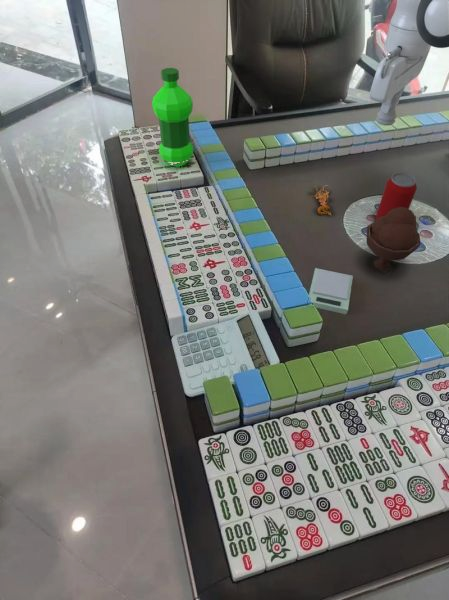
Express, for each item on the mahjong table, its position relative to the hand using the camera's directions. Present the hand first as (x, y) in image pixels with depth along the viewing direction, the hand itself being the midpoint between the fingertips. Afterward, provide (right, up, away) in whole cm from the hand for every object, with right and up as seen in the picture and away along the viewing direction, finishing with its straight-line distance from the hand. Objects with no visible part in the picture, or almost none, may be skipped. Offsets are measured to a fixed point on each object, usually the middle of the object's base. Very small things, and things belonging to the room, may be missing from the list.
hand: (388, 108), depth 98 cm
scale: (-16, -43, -8) cm, 46 cm away
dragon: (-12, -19, +14) cm, 27 cm away
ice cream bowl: (-3, -37, -2) cm, 37 cm away
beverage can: (+4, -24, +9) cm, 26 cm away
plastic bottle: (-51, -4, +27) cm, 58 cm away
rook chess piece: (0, -2, +2) cm, 3 cm away
